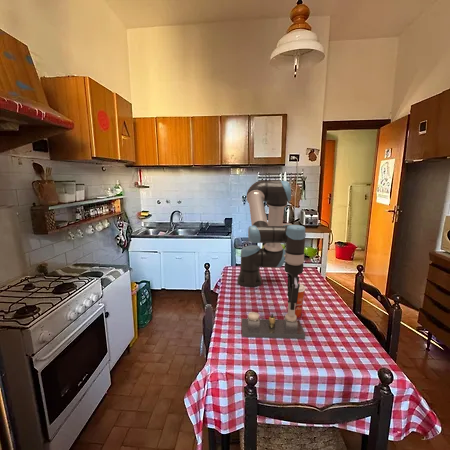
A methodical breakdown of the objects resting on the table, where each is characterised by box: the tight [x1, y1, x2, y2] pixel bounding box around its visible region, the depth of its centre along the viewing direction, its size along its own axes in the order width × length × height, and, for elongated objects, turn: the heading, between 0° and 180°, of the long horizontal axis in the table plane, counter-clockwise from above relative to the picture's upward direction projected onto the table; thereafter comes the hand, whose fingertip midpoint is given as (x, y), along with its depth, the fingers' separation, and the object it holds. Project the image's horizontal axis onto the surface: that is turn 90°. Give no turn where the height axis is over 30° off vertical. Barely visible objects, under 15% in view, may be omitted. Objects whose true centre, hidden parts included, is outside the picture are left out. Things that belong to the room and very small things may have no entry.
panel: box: [241, 316, 306, 340], centre depth 115 cm, size 11×26×5 cm, turn 88°
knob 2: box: [284, 312, 298, 322], centre depth 115 cm, size 5×5×5 cm
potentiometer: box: [268, 313, 276, 328], centre depth 115 cm, size 3×3×6 cm
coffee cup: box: [287, 282, 306, 319], centre depth 128 cm, size 8×8×15 cm
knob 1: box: [247, 311, 260, 321], centre depth 115 cm, size 5×5×5 cm
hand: (291, 315), depth 114 cm, fingers closed
